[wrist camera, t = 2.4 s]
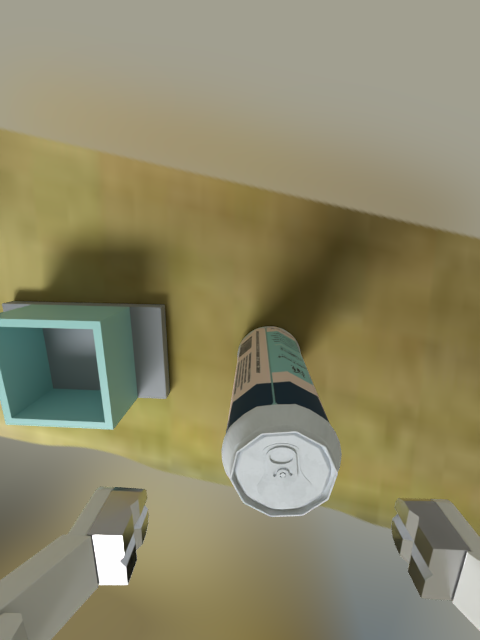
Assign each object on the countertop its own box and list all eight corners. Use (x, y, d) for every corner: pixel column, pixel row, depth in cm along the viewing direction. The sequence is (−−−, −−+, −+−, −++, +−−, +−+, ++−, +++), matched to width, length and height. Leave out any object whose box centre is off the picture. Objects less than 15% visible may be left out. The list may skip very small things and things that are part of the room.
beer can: (241, 383, 23) (226, 528, 11) (234, 327, 22) (209, 424, 10) (301, 378, 22) (350, 524, 11) (297, 321, 21) (348, 415, 10)
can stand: (164, 304, 21) (138, 322, 17) (169, 392, 23) (147, 431, 18) (13, 301, 22) (-56, 317, 17) (30, 386, 24) (-27, 422, 19)
